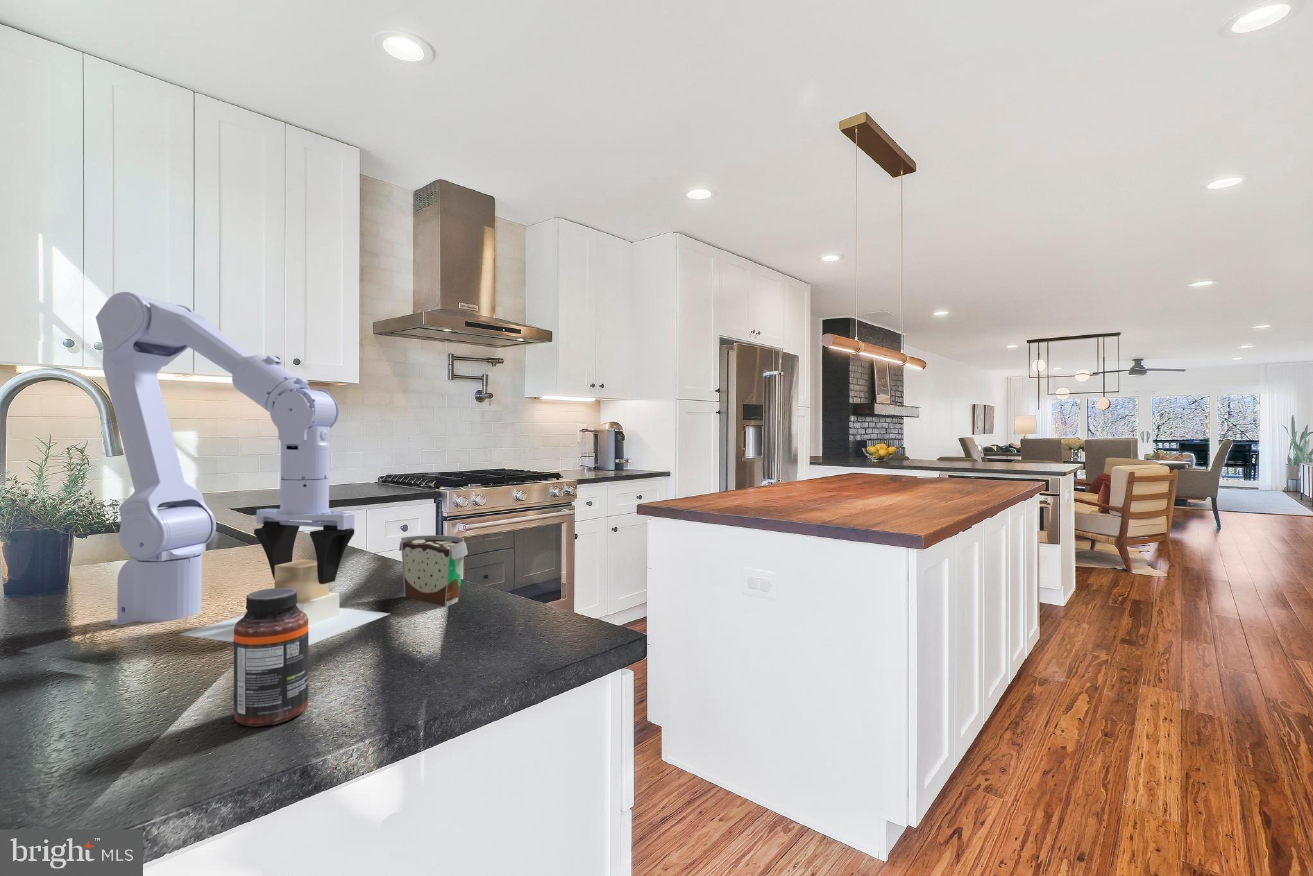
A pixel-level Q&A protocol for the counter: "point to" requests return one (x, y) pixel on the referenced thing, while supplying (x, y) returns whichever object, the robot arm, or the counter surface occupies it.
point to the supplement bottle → (270, 659)
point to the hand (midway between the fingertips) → (304, 580)
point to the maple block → (301, 579)
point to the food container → (432, 567)
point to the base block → (320, 608)
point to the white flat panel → (316, 631)
